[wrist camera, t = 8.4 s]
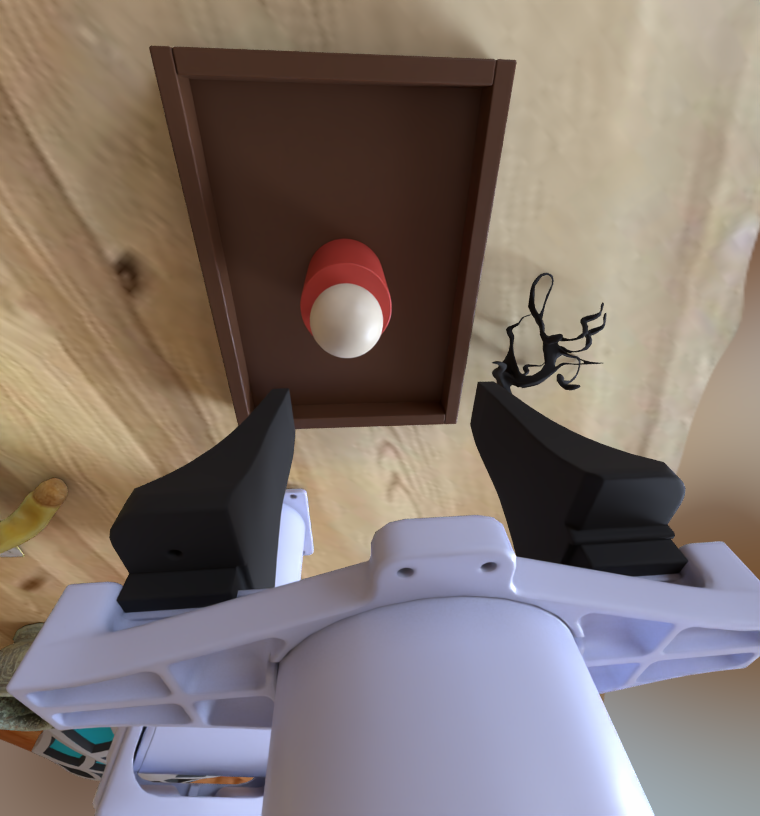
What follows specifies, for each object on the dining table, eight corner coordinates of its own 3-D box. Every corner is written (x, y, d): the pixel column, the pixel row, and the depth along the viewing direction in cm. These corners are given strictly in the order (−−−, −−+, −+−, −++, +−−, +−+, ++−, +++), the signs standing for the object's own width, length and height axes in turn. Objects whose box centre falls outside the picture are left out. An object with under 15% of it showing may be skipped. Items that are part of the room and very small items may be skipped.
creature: (567, 244, 22) (451, 326, 23) (646, 257, 18) (499, 359, 18) (597, 348, 27) (499, 416, 27) (668, 380, 22) (548, 461, 22)
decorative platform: (196, 665, 46) (182, 717, 42) (309, 736, 62) (307, 778, 58) (-14, 722, 50) (-45, 774, 46) (144, 774, 67) (131, 816, 63)
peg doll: (310, 315, 22) (299, 383, 16) (303, 238, 20) (287, 285, 14) (382, 314, 22) (396, 380, 16) (384, 238, 20) (402, 284, 14)
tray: (246, 411, 26) (239, 431, 24) (168, 54, 16) (147, 45, 14) (449, 405, 27) (456, 424, 25) (499, 66, 17) (517, 59, 15)
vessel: (72, 606, 37) (29, 682, 32) (137, 644, 42) (109, 716, 37) (-29, 637, 39) (-85, 714, 34) (45, 671, 44) (6, 742, 39)
